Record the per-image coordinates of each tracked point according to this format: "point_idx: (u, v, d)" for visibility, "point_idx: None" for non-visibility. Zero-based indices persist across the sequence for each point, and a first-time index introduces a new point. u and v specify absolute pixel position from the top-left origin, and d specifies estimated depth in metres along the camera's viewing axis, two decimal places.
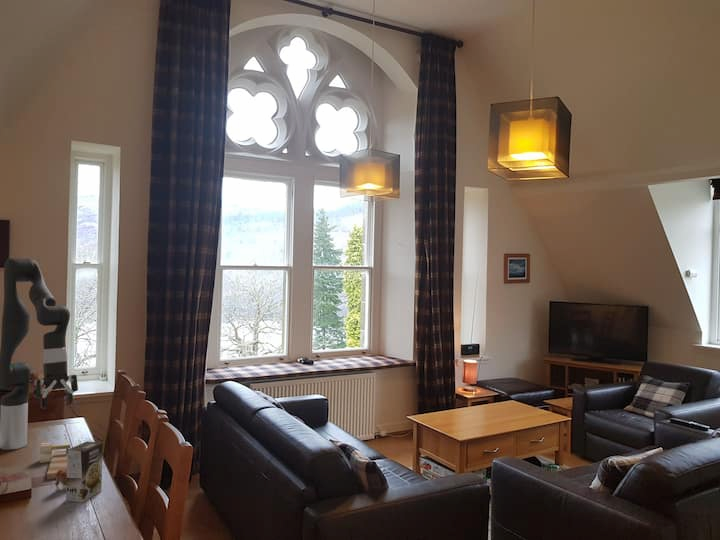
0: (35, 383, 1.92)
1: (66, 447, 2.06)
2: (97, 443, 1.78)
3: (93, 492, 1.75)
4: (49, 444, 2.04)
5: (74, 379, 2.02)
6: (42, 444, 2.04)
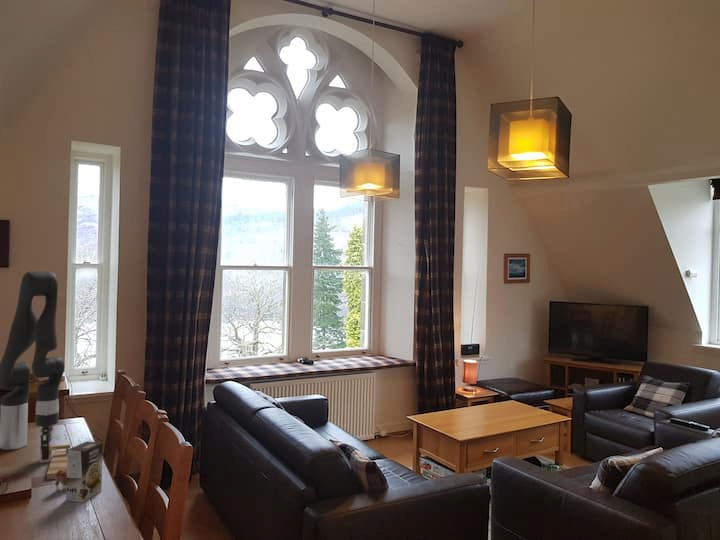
0: (44, 439, 1.98)
1: (66, 447, 2.06)
2: (97, 443, 1.78)
3: (93, 492, 1.75)
4: (49, 444, 2.04)
5: None
6: None
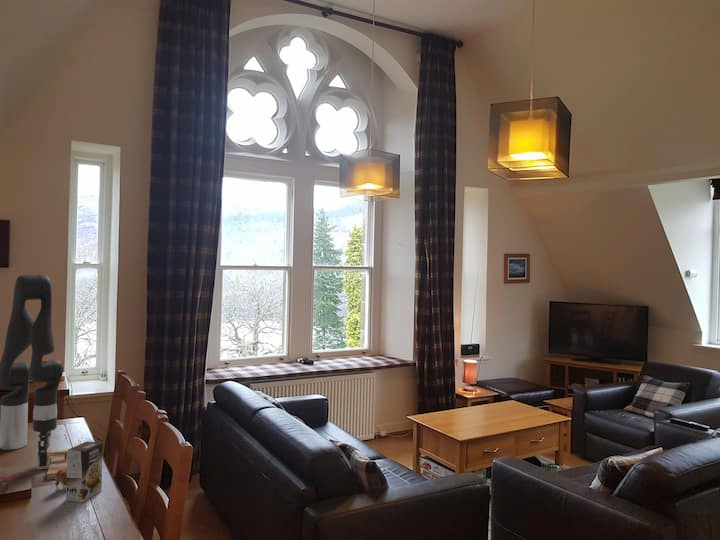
0: (42, 445, 1.92)
1: (64, 453, 2.00)
2: (97, 443, 1.78)
3: (93, 492, 1.75)
4: (47, 450, 1.98)
5: None
6: None
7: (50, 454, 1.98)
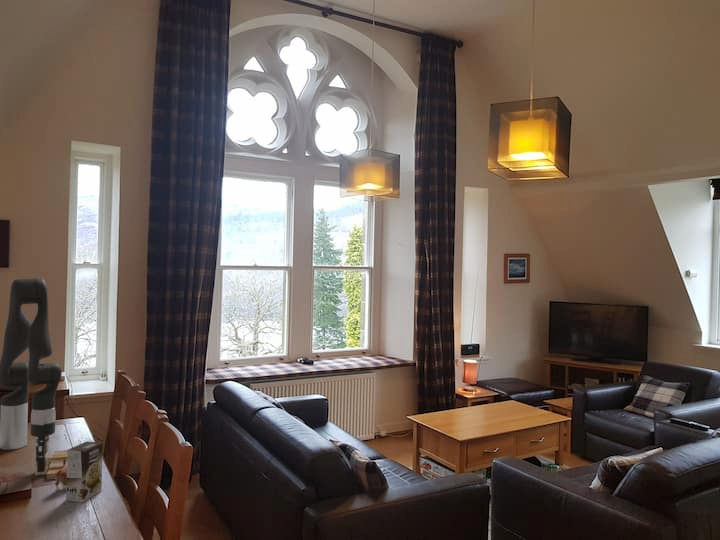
0: (40, 450, 1.87)
1: (63, 458, 1.95)
2: (97, 443, 1.78)
3: (93, 492, 1.75)
4: (45, 455, 1.92)
5: None
6: None
7: (48, 459, 1.93)
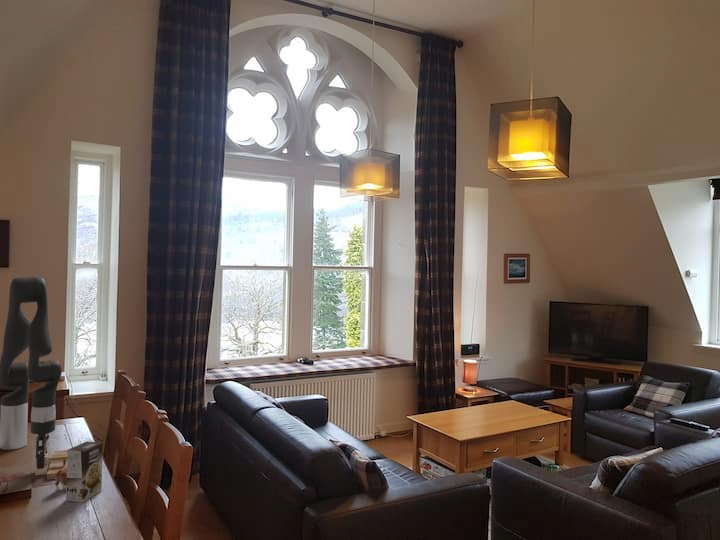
0: (40, 444, 1.86)
1: (63, 458, 1.95)
2: (97, 443, 1.78)
3: (93, 492, 1.75)
4: (45, 455, 1.92)
5: (48, 433, 1.98)
6: None
7: (48, 459, 1.93)
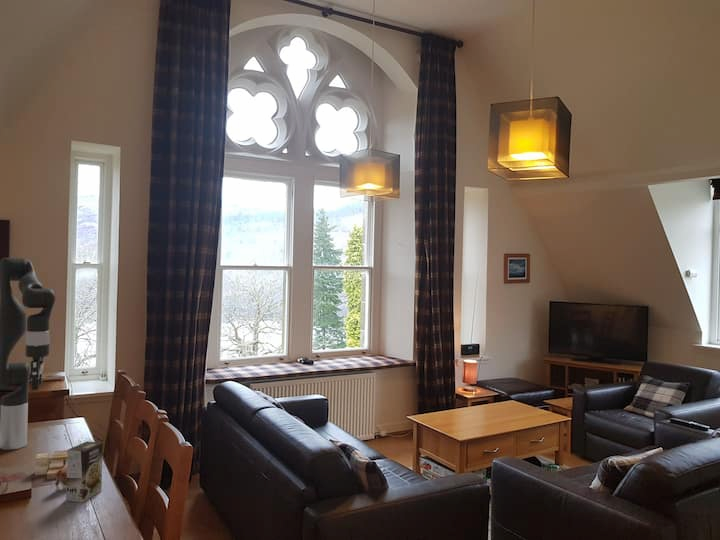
0: (34, 365, 1.95)
1: (63, 458, 1.95)
2: (97, 443, 1.78)
3: (93, 492, 1.75)
4: (45, 455, 1.92)
5: None
6: (38, 455, 1.92)
7: (48, 459, 1.93)
